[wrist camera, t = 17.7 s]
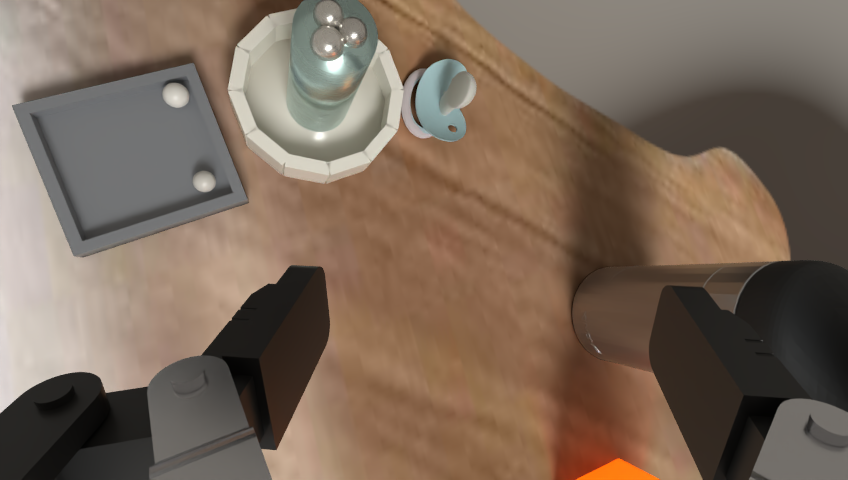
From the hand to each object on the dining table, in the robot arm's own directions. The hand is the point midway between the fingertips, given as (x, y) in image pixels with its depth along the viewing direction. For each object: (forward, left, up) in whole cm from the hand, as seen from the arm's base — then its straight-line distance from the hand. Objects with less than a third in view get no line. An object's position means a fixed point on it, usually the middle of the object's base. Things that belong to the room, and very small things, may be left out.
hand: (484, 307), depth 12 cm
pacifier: (-14, -12, -30) cm, 35 cm away
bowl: (-4, -15, -30) cm, 34 cm away
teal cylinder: (-4, -15, -29) cm, 33 cm away
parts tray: (+10, -14, -30) cm, 35 cm away
